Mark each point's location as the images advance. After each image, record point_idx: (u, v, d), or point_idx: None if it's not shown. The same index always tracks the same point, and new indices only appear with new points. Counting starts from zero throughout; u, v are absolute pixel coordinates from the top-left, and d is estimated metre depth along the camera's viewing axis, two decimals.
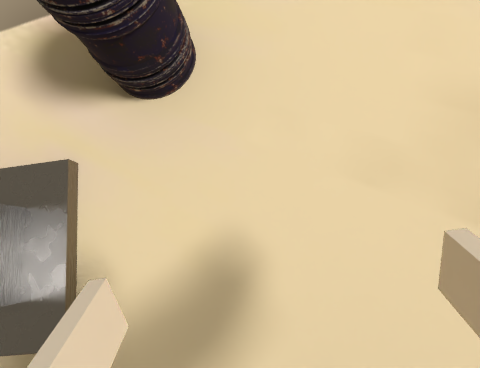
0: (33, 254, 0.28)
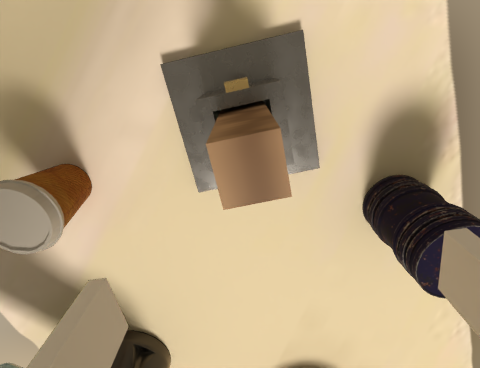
0: None
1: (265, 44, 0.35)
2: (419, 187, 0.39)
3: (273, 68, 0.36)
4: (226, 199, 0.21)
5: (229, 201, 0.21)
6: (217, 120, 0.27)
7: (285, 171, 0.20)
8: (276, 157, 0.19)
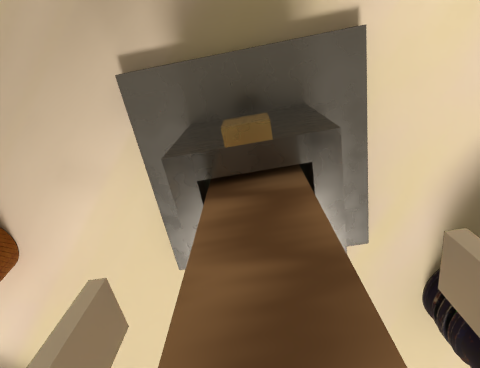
0: None
1: (297, 47, 0.20)
2: None
3: (308, 88, 0.21)
4: None
5: None
6: (202, 219, 0.12)
7: None
8: None
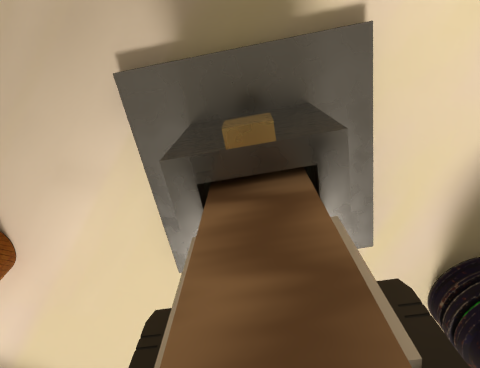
0: None
1: (301, 45, 0.19)
2: None
3: (312, 87, 0.21)
4: None
5: None
6: (202, 225, 0.12)
7: None
8: None
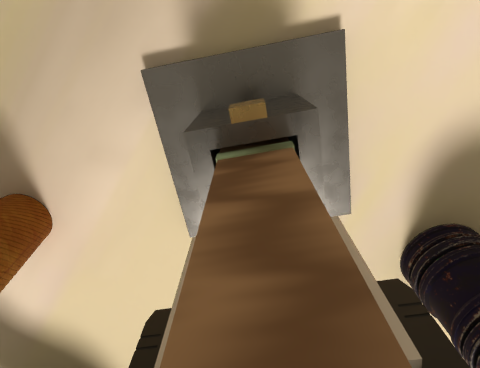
0: None
1: (289, 47, 0.25)
2: None
3: (298, 81, 0.26)
4: None
5: None
6: (202, 225, 0.12)
7: None
8: None
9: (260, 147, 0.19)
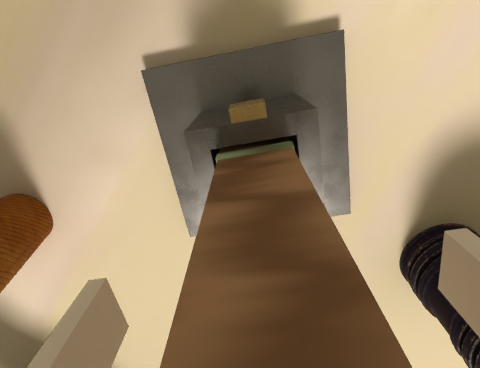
0: None
1: (289, 48, 0.25)
2: None
3: (297, 81, 0.26)
4: None
5: None
6: (202, 225, 0.12)
7: None
8: None
9: (260, 147, 0.20)
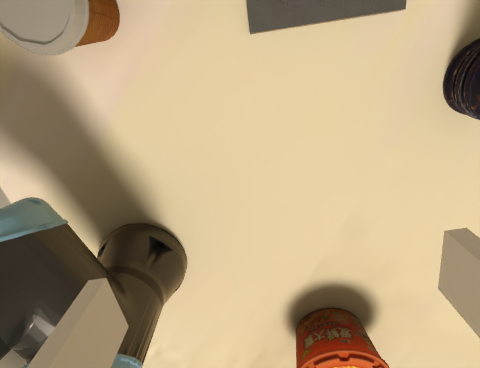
0: None
1: None
2: None
3: None
4: None
5: None
6: None
7: None
8: None
9: None
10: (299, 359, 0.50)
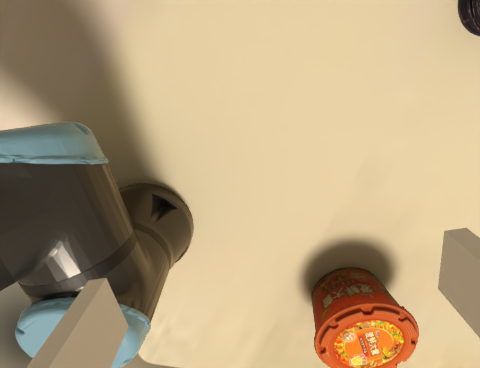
0: None
1: None
2: None
3: None
4: None
5: None
6: None
7: None
8: None
9: None
10: (318, 320, 0.47)
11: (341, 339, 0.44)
